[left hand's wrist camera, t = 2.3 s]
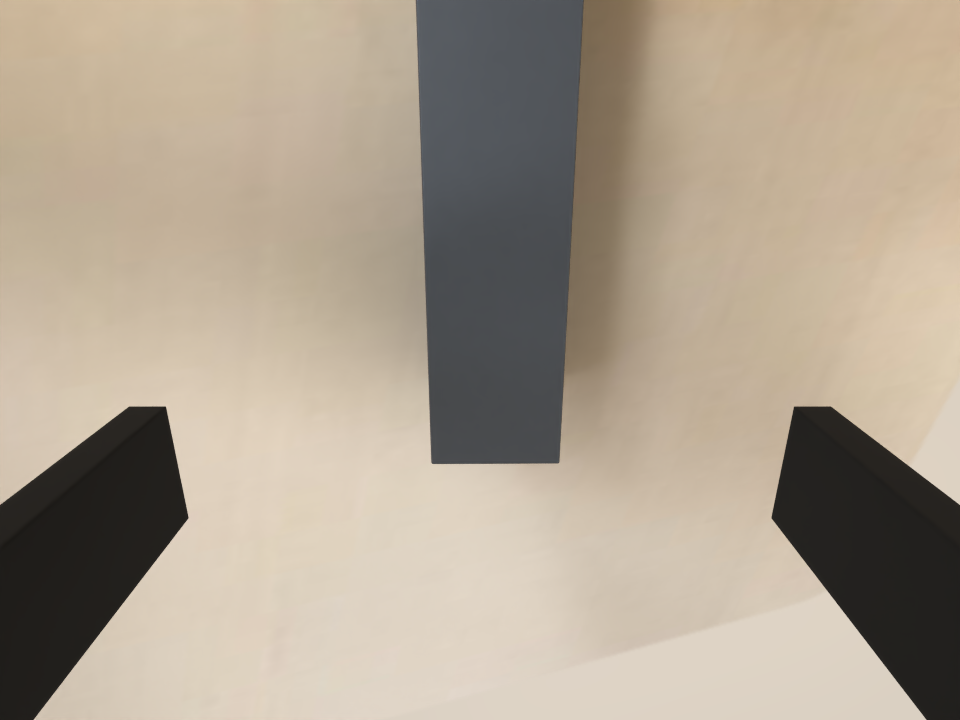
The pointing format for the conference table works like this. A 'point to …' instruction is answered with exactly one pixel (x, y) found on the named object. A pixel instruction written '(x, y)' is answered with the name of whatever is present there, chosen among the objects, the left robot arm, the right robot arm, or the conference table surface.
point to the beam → (497, 221)
